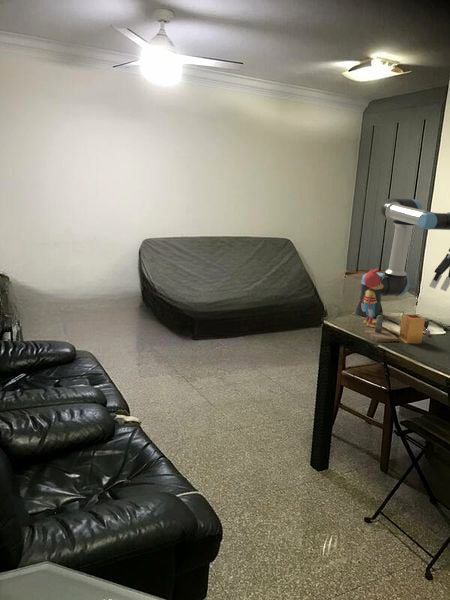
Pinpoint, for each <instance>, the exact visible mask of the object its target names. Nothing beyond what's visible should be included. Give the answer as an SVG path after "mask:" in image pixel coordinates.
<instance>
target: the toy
mask: <svg viewBox="0 0 450 600" xmlns="http://www.w3.org/2000/svg"><path fill="white" fill-rule="evenodd" d="M377 271H379V268H375V269H374V268H371V269H369V271H368V272H366V273H367V274H366V273H365V274H366V275H365V277H364V282H365V285H366V286H368V287H369V290H367V291H366V292H365V295H364V297H363V299H362V305H361V307H362V311H363V312H366V314H367V317H365V318H366V319H365V320H363V323H364V324H365V325H366V326H367V327H369V328H373V329H375V327H376V319H375V317H374V316H375V303H377V300H376V296H375V293H374V292H373V291H372V290H371V289H374V290H378V289H382V288H383V284H381V283H382V281H381V280H382V277H381V279H380V276H379V275H378V274H377ZM364 302H365V303H364Z"/></svg>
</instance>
